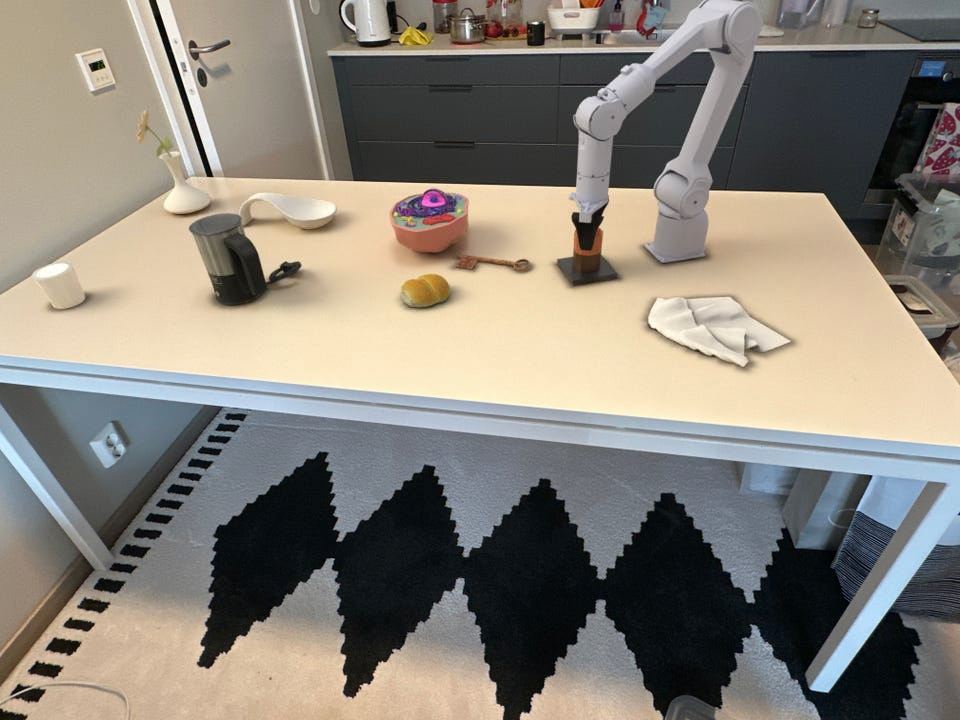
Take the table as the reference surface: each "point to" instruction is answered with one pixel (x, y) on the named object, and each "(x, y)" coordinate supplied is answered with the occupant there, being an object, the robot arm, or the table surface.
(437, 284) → the bread roll
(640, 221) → the table surface
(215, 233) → the milk frother
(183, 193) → the flower in vase
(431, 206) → the cell model
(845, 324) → the table surface
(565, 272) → the peg stand
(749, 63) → the robot arm
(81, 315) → the table surface
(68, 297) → the white short cylinder
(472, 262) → the key
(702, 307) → the cloth
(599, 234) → the terracotta ring
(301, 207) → the spoon rest
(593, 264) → the walnut ring
